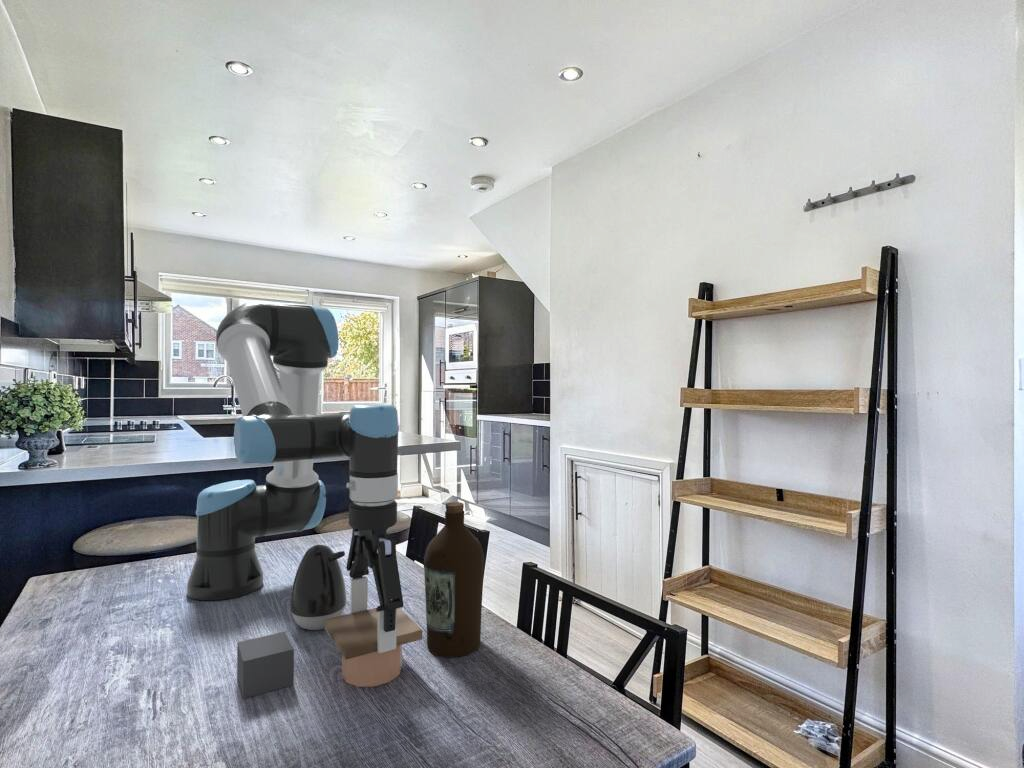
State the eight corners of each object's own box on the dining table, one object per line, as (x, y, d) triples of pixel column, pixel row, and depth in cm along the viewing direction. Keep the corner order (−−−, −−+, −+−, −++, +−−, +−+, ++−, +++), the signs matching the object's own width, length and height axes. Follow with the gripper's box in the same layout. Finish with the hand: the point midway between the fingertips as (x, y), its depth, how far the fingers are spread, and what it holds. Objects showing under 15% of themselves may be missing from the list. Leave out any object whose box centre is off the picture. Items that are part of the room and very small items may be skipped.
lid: (324, 628, 90) (324, 619, 90) (394, 612, 96) (394, 603, 96) (345, 659, 80) (345, 649, 80) (422, 639, 86) (422, 629, 86)
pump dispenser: (329, 639, 99) (330, 555, 99) (278, 633, 101) (278, 551, 101) (356, 615, 109) (357, 539, 109) (309, 611, 111) (309, 536, 111)
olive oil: (451, 626, 105) (452, 495, 105) (495, 641, 98) (496, 502, 98) (410, 647, 96) (411, 505, 96) (456, 666, 90) (457, 513, 90)
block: (237, 677, 86) (237, 642, 86) (284, 664, 90) (284, 631, 90) (243, 699, 80) (243, 661, 80) (293, 684, 84) (293, 649, 84)
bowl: (336, 666, 89) (336, 629, 89) (389, 652, 94) (389, 617, 94) (352, 692, 82) (353, 652, 82) (409, 675, 87) (409, 637, 87)
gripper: (329, 489, 96) (327, 609, 97) (376, 521, 76) (375, 674, 76) (370, 485, 101) (369, 600, 101) (427, 514, 80) (425, 659, 80)
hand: (371, 632), depth 88 cm, fingers open, 13 cm apart
